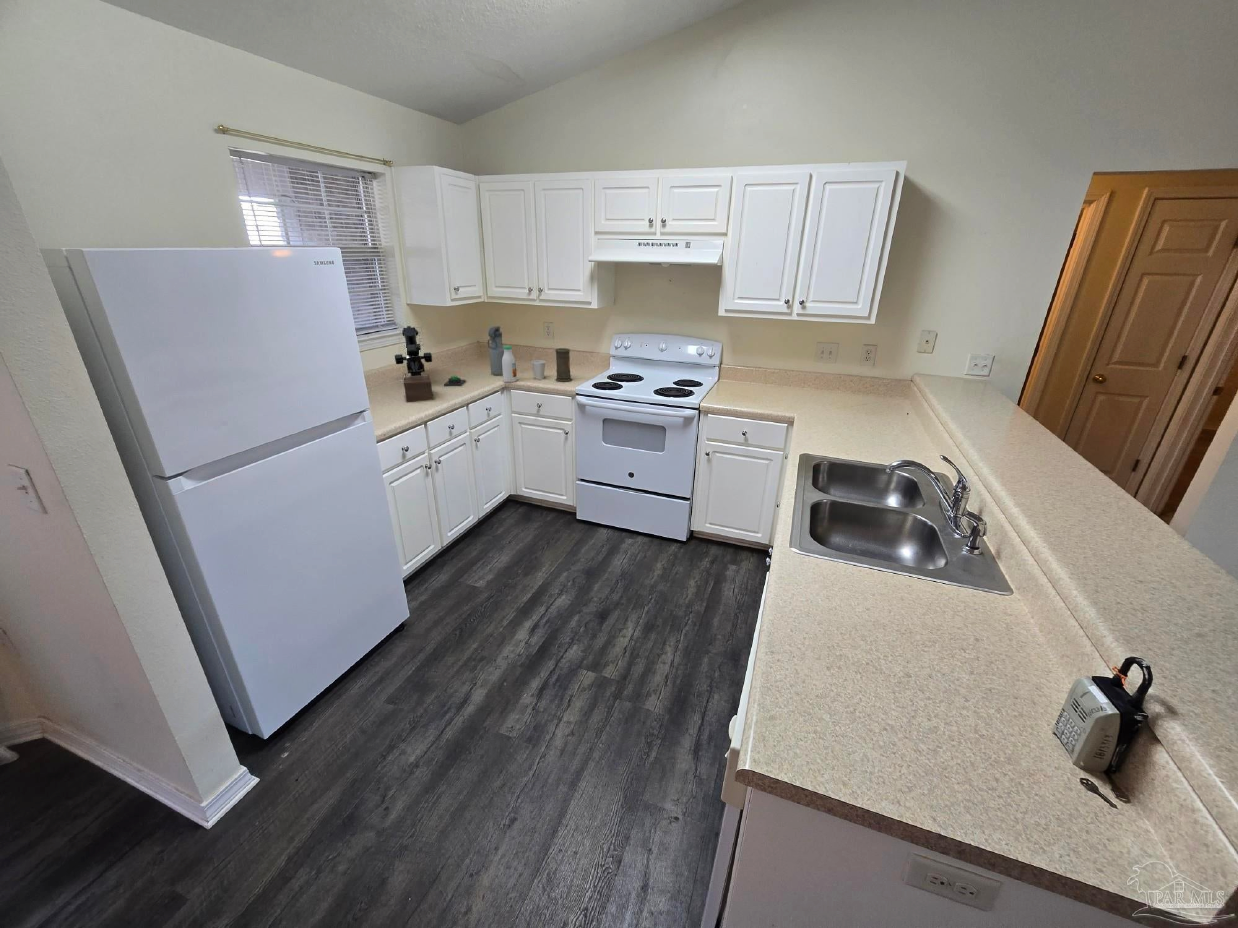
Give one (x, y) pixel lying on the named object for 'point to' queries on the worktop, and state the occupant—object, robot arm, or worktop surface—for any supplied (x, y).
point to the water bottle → (496, 350)
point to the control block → (454, 382)
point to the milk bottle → (509, 365)
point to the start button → (454, 377)
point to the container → (563, 365)
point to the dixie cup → (538, 368)
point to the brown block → (418, 388)
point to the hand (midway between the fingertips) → (415, 371)
